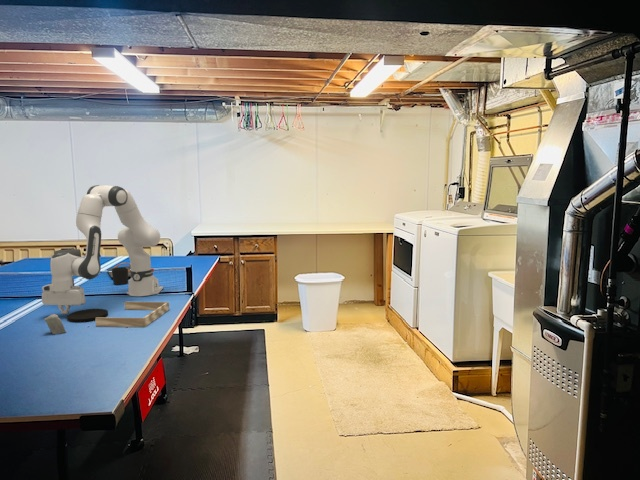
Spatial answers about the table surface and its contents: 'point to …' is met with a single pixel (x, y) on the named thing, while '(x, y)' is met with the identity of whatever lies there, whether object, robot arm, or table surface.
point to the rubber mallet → (73, 252)
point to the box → (135, 322)
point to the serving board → (118, 267)
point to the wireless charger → (86, 315)
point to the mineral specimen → (55, 324)
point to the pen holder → (120, 276)
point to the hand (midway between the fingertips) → (65, 313)
